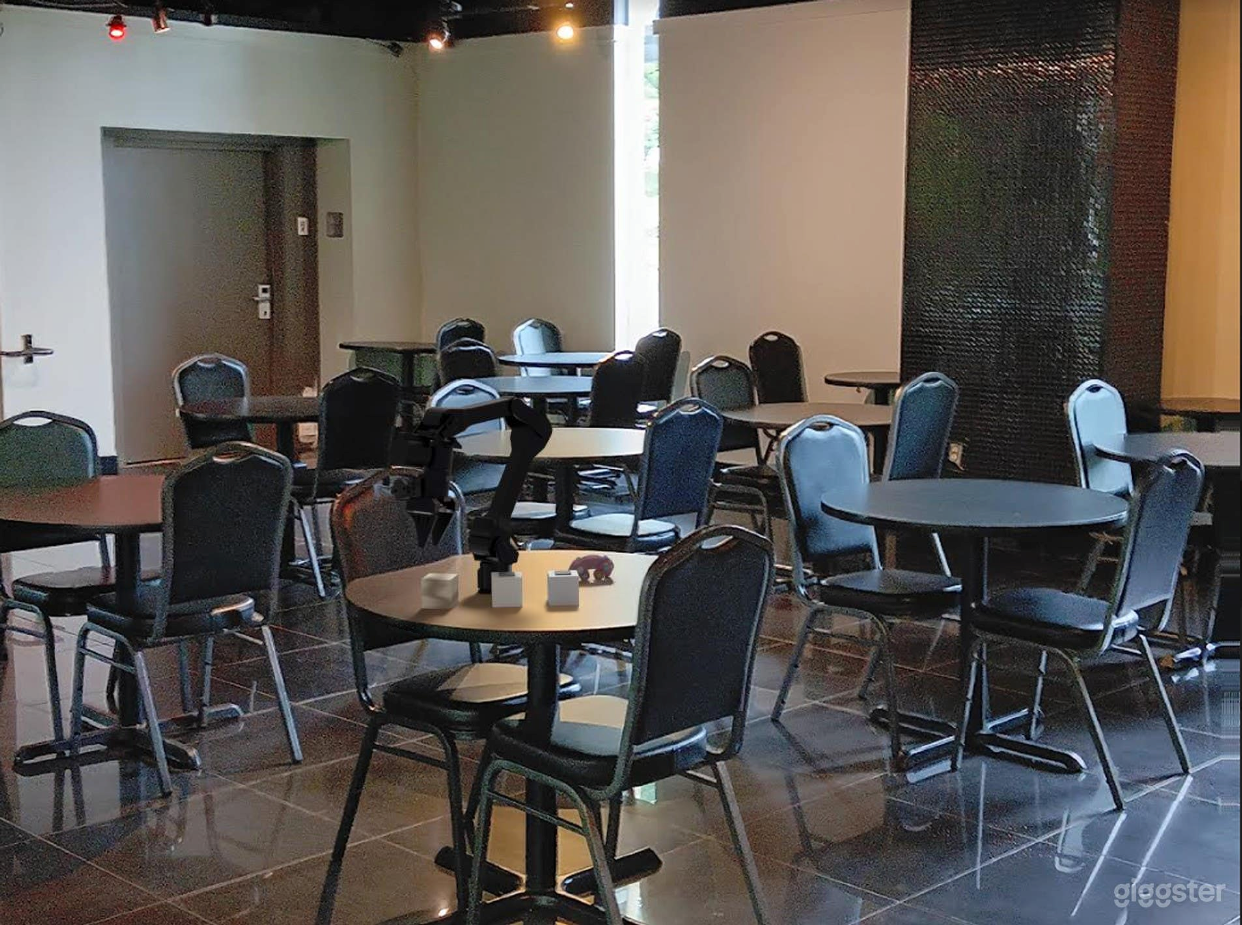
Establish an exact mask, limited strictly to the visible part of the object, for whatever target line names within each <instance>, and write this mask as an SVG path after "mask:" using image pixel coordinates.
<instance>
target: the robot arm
mask: <svg viewBox="0 0 1242 925" xmlns="http://www.w3.org/2000/svg"><path fill="white" fill-rule="evenodd" d="M499 419H503V422H504V424H505V425H506V427H508V428H509V429H510V430H511V431H510V434H509V442H510V448H511V450H510V451H511V452H510V454H509V456H508V459H507V462H506V463H505V467H504V469H503V471H502V474H501V476H500V479H499V482H498V484H497V488H496V489H495V492H494V494H493V498H492V499H491V500H492V501H491V503H490V504H489V508H488V510H487V512H486V513H485V514H484V515H483V516H478V515H477V516H474V518H473V521H472V524H471V527H470V529H469V530H468V532H467V535H468V538H467V544H468V548H469V550H470V551H471V554H472V557H473V560H474V561H475V562H477V561H478V562H479V568H477V570H476V571H477V572H476V574H477V576H476V577H477V578H476V580H477V581H476V582H477V584H476V585H477V593H480V594H492V575H491V572H513V568H512V567H513V565H514V564H518V561H519V556H520V552H519V551H518V550H517V549H516V548H515V547H514V546H513V545H512V543H511V539H512V533H513V532H512V527H511V526H512V525H511V519H512V518H511V517H512V515H513V512H514V510H515V508H516V505H517V502H518V499H519V496H520V494H521V491H522V489H523V486H524V484H525V481H526V479H527V476H528V474H529V472H530V469H531V466H532V464H533V461H534V459H535V458H536V457H537V456H538V455H539V454H540V453H541V452H542V451H544V449H545V448H546V446H547V444H548V443H549V442H550V439H551V437H552V434H553V430H554V429H553V428H554V427H552V422H551V421H550V419H549V418H548V417H546V416H545V415H542V414H541V413H540V412H539V411H537V410H535V409H534V408H533V407H530V406H529V405H527V403H525V402H524V401H523V400H522V399H521V398H519V397H517V396H512V395H511V396H508V395H502V396H500V397H498V398H494V399H489V400H485V401H481V402H476V403H472V404H468V405H464V406H430V407H428V408H427V409H426V410H425V413H424V414H423V417H422V418H421V420H420V421H419V423H418V424H417V425H416V426H415V428H413V431H412V432H404V431H399V432H398V436H397V438H396V439H394V441H393V442H392V444H391V446H390V448H389V459H390V461H391V463H392V464H393V465H394V467H395V466H396V467H400V468H401V467H403V468H404V467H405V468H414V469H422V470H421V471H422V472H419V473H418V474H417V477H416V480H412V481H408V482H407V481H406V480H405V479H404V478H398V479H395V480H394V481H393V484H392V486H391V490H390V494H391V495H393V499H394V503H396V502H400V503H401V502H404V510H405V511H406V514H407V515H409V516H410V518H411V519H412V520H413V521H414V525H415V526H414V527H415V532H416V537H417V543H418V544H417V545H418V548H420V549H424V548H426V545H427V543H428V542H429V539H430V538H431V542H432V546H435V547H438V546H439V545H440V543H441V541H442V539H443V537H444V536H445V534H446V531H448V529H449V527H450V525H451V523H452V522H453V520H454V519H455V517H456V516H457V513H458V512H460V509H461V508H460V506H461V505H460V504H461V502H460V500H459V499H458V497H455V496H454V497H453V496H451V495H450V494H449V493H450V484H451V482H453V481H454V476H453V475H451V474H452V465H453V464H452V463H453V457H454V449H455V450H461V449H463V445H462V444H461V443H460V442H459V441H458V439H457V437H456V436H457V435H459V434H461V433H464V432H466V430H468V428H470V427H471V426H474V425H479V424H482V423H487V422H490V421H495V420H499ZM452 511H453V512H452Z"/></svg>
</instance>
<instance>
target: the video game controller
mask: <svg viewBox="0 0 1242 925" xmlns="http://www.w3.org/2000/svg"><path fill="white" fill-rule="evenodd" d="M614 568H615V564H614V562H613V560H612V559H611V558H610V557H608V555H606V554H605V555H603V556H602V555H599V554H587V555H584V556H583V557H581V556H577V557H576V558H574V559H573V560H572V561H571V563H570V565H569V567H568V570H577V573H578V575H579V580H580V581H582V582H583V581H588V580H590V577H591V575H590V571H589V570H594V571H593V573H592V575H593V577H594V579H595V580H596V581H601V580H603V579H604V577H605V578H609V577H610V576H611V575H612V573H613V571H614Z"/></svg>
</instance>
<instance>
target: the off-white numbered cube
mask: <svg viewBox="0 0 1242 925" xmlns="http://www.w3.org/2000/svg"><path fill="white" fill-rule="evenodd" d="M491 575H492V593H491V604H492V605H491V606H492V608H510V607H511V608H514V607H517V608H518V607H519V608H520V607H524V605H523V575H522V572H521V571H512V572H491Z"/></svg>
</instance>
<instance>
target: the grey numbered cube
mask: <svg viewBox="0 0 1242 925" xmlns="http://www.w3.org/2000/svg"><path fill="white" fill-rule="evenodd" d="M546 574H547V575H546V576H547V578H546V580H547V581H546V582H547V588H546V589H547V592H546V593H547V603H548V605H549V606H550V607H551V606H579V605H580V577H579V575H578V573H577V570H564V569H563V570H547V571H546Z"/></svg>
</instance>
